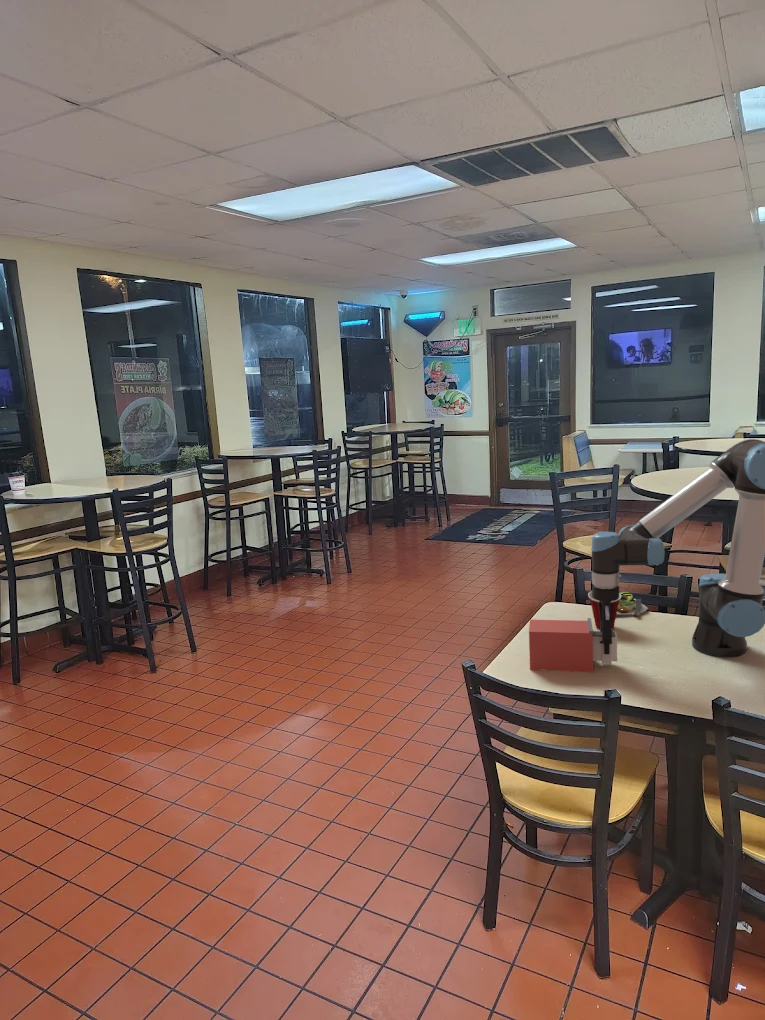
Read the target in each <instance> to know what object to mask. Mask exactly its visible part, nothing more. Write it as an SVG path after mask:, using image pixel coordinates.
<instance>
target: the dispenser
mask: <svg viewBox="0 0 765 1020" xmlns="http://www.w3.org/2000/svg"><path fill="white" fill-rule="evenodd" d="M593 631H594V628H593V621H592V618H591V617H587V620H570V619H569V620H568V619H529V627H528V640H529V641H528V643H529V644H528V646H529V647H528V648H529V670H530V669H545V670H544V671H555V670H559V671H560V672H580V673H581V672H585V673H587V672H588V673H593V672H594V661H593Z"/></svg>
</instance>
